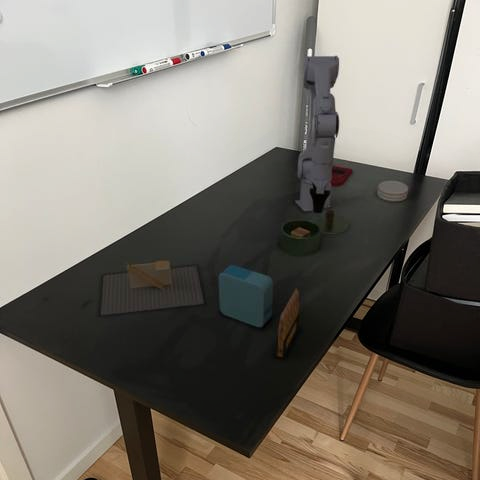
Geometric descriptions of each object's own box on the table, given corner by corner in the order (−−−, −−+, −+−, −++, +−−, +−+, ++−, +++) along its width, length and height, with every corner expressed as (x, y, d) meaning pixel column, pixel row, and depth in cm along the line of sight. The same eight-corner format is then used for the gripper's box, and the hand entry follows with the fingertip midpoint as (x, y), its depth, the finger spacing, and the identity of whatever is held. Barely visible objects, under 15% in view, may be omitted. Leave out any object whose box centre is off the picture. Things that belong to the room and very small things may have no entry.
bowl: (308, 232, 151) (310, 216, 148) (325, 251, 143) (327, 234, 140) (274, 239, 149) (275, 223, 145) (289, 258, 140) (290, 241, 137)
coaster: (377, 188, 175) (379, 178, 173) (407, 191, 173) (409, 181, 171) (375, 200, 168) (377, 190, 166) (406, 203, 166) (408, 194, 164)
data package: (272, 319, 119) (273, 277, 112) (263, 329, 116) (264, 287, 109) (229, 303, 124) (228, 262, 117) (219, 313, 121) (217, 272, 114)
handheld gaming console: (314, 178, 179) (328, 164, 189) (314, 182, 180) (327, 167, 190) (340, 183, 176) (352, 168, 186) (340, 187, 176) (352, 171, 187)
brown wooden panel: (290, 327, 117) (293, 285, 109) (298, 329, 116) (302, 287, 109) (275, 356, 109) (277, 313, 102) (283, 358, 109) (286, 315, 101)
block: (298, 239, 148) (299, 227, 145) (309, 243, 146) (310, 231, 143) (289, 244, 146) (290, 232, 143) (300, 249, 143) (301, 236, 141)
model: (172, 290, 129) (169, 265, 124) (130, 294, 128) (126, 269, 123) (172, 283, 131) (169, 258, 127) (130, 287, 130) (126, 262, 125)
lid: (336, 215, 160) (338, 200, 157) (355, 232, 151) (357, 217, 148) (302, 221, 157) (303, 206, 154) (319, 239, 148) (321, 223, 145)
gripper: (308, 150, 142) (304, 194, 150) (306, 170, 131) (303, 217, 139) (333, 151, 141) (328, 196, 150) (334, 171, 130) (328, 218, 139)
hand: (317, 206), depth 144 cm, fingers open, 7 cm apart
